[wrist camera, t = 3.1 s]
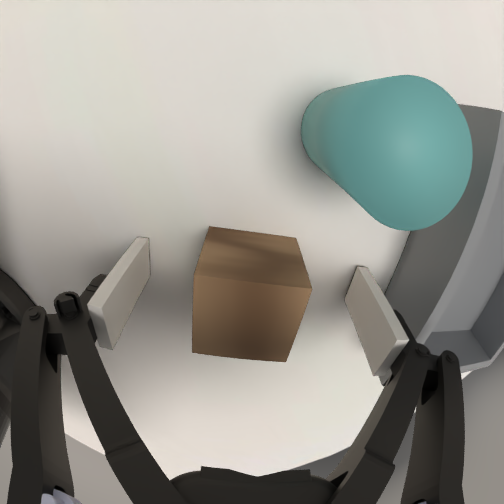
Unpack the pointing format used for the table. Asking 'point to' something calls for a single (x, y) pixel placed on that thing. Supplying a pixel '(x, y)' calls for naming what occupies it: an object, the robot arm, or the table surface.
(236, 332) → the cube
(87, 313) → the robot arm
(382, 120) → the cylinder
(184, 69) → the table surface
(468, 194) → the tote
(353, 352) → the table surface
